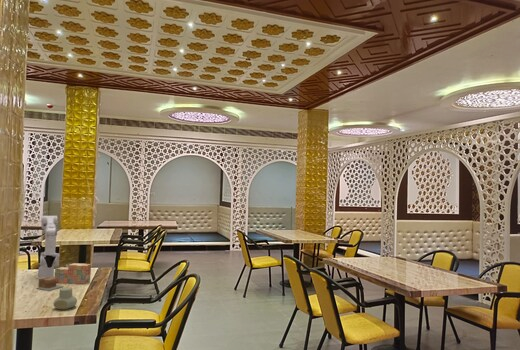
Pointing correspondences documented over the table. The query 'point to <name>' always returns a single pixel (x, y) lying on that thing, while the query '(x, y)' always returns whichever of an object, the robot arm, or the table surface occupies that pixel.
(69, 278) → the stack of blocks
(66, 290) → the air freshener
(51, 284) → the walnut block
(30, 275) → the table surface
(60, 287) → the slate mat
